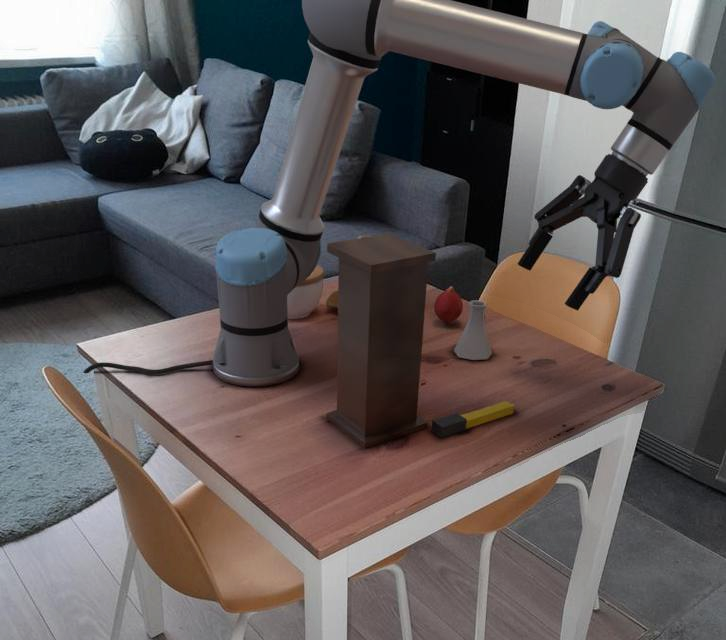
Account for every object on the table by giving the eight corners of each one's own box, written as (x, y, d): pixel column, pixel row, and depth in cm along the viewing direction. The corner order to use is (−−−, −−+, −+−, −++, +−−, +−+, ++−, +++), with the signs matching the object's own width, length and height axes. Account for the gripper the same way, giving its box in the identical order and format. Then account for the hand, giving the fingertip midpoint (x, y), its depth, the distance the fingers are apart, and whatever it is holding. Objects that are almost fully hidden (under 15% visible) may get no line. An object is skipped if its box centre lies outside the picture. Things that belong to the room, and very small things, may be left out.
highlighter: (503, 407, 133) (505, 397, 132) (514, 414, 131) (516, 403, 130) (430, 431, 126) (431, 420, 125) (441, 438, 124) (442, 427, 123)
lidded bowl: (336, 313, 166) (336, 261, 160) (289, 329, 159) (288, 274, 153) (297, 297, 174) (296, 247, 168) (250, 311, 166) (248, 258, 160)
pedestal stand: (386, 400, 134) (394, 231, 119) (427, 428, 127) (441, 251, 111) (326, 418, 128) (326, 243, 113) (365, 448, 121) (371, 265, 105)
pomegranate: (427, 324, 163) (430, 286, 158) (441, 316, 167) (444, 279, 162) (452, 331, 160) (456, 293, 156) (466, 323, 164) (470, 285, 160)
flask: (491, 347, 154) (497, 297, 149) (492, 362, 148) (499, 311, 143) (453, 344, 155) (458, 295, 149) (453, 360, 149) (458, 308, 143)
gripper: (699, 207, 114) (607, 332, 123) (594, 145, 130) (519, 259, 139) (671, 187, 109) (577, 318, 118) (566, 125, 126) (491, 245, 135)
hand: (546, 286), depth 129 cm, fingers open, 13 cm apart
